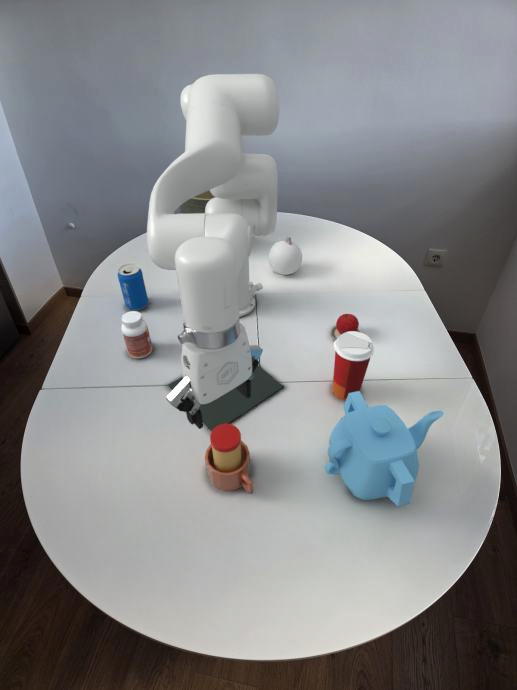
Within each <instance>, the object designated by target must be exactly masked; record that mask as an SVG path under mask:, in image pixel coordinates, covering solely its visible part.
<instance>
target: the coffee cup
mask: <svg viewBox="0 0 517 690" xmlns="http://www.w3.org/2000/svg"><path fill="white" fill-rule="evenodd" d="M360 332H361V331H360ZM360 332H356V331H349V332H346V333H343V334H342V335H340V336H339V337H338V338H337V339H336V340H334V342H333V349H334V350H335V351H334V364H333V376H332V377H333V378H332V393H333V395H334V396H335V397H336V398H337V399H339V400H340V401H345V402H346V399H347V396H348V394H349V393H352V392H357V391H360V392H361V389H362V387H363V383H364V380H365V377H366V375H367V371H368V367H369V364H370V360H371V358H372V356H373V355H374V353H375V346H374V343H373V340H372V338H370V337H369V336H368V335H367V334H365V333H363V332H361V333H360Z"/></svg>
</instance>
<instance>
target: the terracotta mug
mask: <svg viewBox="0 0 517 690" xmlns="http://www.w3.org/2000/svg"><path fill="white" fill-rule="evenodd" d="M241 457H242V467H241V468H239V469H238V470H237V471H233V472H230V473H223V472H219V471H217V470H215V466H214V458H213V451H212V445H211V443H210V444H209V445H208V447H207V448H206V450H205V455H204V462H205V468H206V473H207V478H208V481H209V483H210V484H211V485H212V486H213V487H215V488H216V489H218V490H221V491H225V492H229V491H230V492H231V491H236V490H237V489H239V488H241V487H242V488H243V489H244V490H245V492H246V493H247V494H248V495H253V493H254V481H253V480H252V479H251V478H250V474H251V453H250V450H249V448H248V445H247V444H246V443H245V442H244V441H243V440H242V439H241Z"/></svg>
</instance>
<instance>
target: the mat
mask: <svg viewBox="0 0 517 690" xmlns="http://www.w3.org/2000/svg"><path fill="white" fill-rule="evenodd" d="M253 374H254V377H253V378H252V379H251V397H250V398H246V397H245V396H244V395H242V394H241V393H240V392H239V391H238V390H237V389H236V387H235V388H234V389H232V390H231V391H229V392H227V393H226V394H224V395H222V396H221V397H219V398H217V399H216V400H214V401H212V402H210V403H207V404H201V405H200V407H199V410H200V411H201V413H202V420H203V425H205V426H206V427H207V429H208V430H209V431H210V432H212V430H213V429H214V428H215V427H217V426H218V425H221V424H232V423H233V422H235V421H236V420H237V419H239V418H241V417H243V416H244V415H245V414H246V413H248V412H250V411H252V409H254V408H255V407H257V406H258V405H261V403H263V402H264V401H266V400H267V399H269V398H271V397H272V396H274V395H275V394H277V393H278V392H280V391H281V390H283V389H284V388H285V386H284V385H283V384H282V383H280V382H279V381H278V380H277V379H275V378H274V377H273V376H272V375H270V373H268V372H267V371H266V370H265V369H264V368H263V367H261V366H260V365H258V366H257V367H256V369H255V370H254V372H253ZM182 380H183V376H181V377H179V378H178V379H175V380H174V381H172V382H170V383H168V385H167V386H168V387H169V388H170V389H171V391H172V390H173V389H174V388H175V387H176V386H177V385H178V384H179V383H180V382H181V381H182ZM183 397H184V396H183ZM183 397H182V398H181V399H183ZM194 400H195V397H194V396H192V398H191V401H192V402H194Z"/></svg>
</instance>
